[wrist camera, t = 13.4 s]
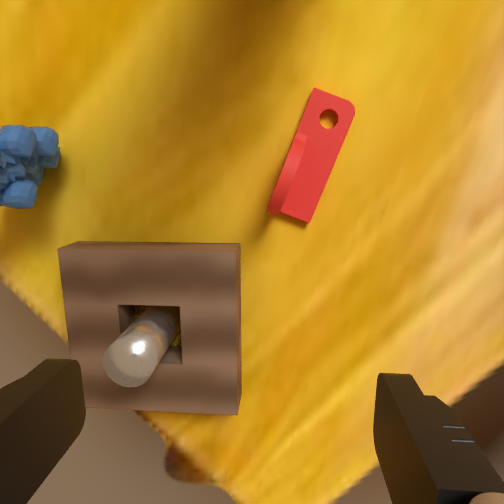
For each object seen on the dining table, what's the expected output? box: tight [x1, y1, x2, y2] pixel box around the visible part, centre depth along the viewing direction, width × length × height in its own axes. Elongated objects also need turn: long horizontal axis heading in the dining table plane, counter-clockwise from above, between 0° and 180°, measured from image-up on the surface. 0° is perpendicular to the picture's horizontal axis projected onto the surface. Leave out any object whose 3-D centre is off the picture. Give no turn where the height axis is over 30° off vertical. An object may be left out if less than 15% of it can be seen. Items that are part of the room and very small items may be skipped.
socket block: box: [58, 241, 242, 415], centre depth 41 cm, size 18×18×4 cm
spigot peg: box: [103, 305, 181, 387], centre depth 38 cm, size 4×4×10 cm
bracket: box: [267, 88, 355, 223], centre depth 34 cm, size 12×4×8 cm, turn 159°
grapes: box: [0, 125, 60, 209], centre depth 34 cm, size 12×7×12 cm, turn 131°
